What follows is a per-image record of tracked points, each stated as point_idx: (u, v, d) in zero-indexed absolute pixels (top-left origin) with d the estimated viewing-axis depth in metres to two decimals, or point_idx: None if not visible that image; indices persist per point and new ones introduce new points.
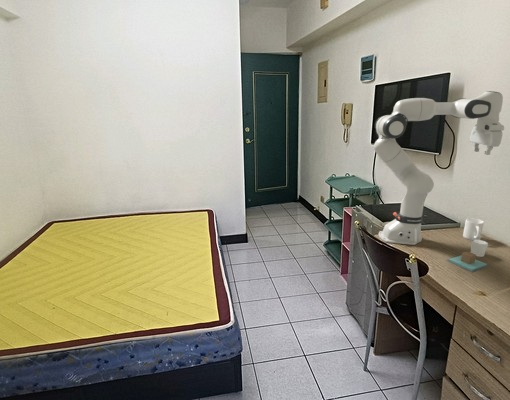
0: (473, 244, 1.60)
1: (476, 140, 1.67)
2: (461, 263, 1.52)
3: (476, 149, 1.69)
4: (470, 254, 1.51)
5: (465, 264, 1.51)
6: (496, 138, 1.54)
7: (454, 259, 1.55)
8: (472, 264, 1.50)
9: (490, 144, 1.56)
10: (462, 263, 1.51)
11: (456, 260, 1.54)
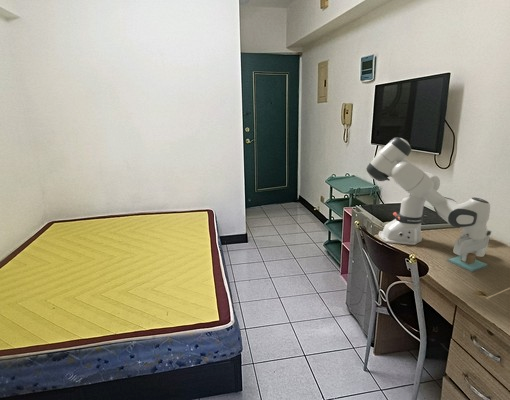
0: None
1: (470, 250, 1.48)
2: (461, 263, 1.52)
3: None
4: (470, 254, 1.51)
5: (465, 264, 1.51)
6: None
7: (454, 259, 1.55)
8: (472, 264, 1.50)
9: (485, 246, 1.53)
10: (462, 263, 1.51)
11: (456, 260, 1.54)
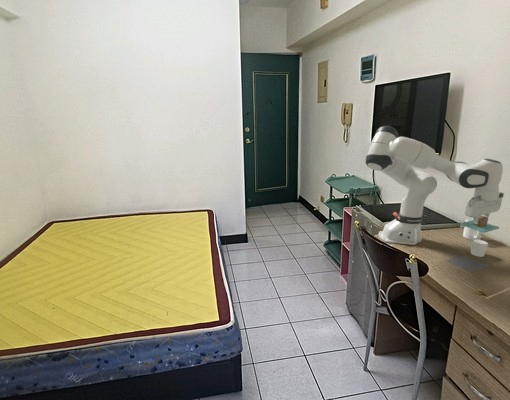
0: (473, 244, 1.60)
1: (481, 212, 1.47)
2: (473, 226, 1.51)
3: None
4: (482, 217, 1.50)
5: (477, 227, 1.50)
6: None
7: (465, 223, 1.54)
8: (484, 227, 1.49)
9: (498, 209, 1.52)
10: (474, 226, 1.50)
11: (468, 224, 1.53)
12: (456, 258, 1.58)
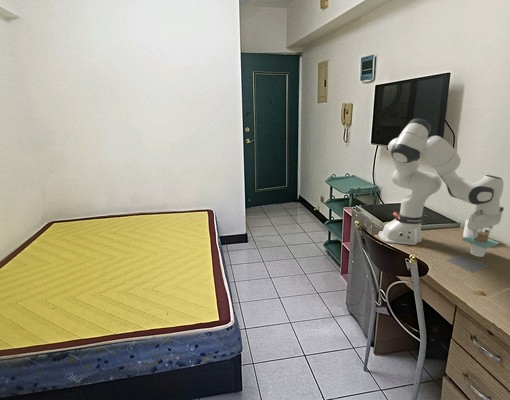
0: (473, 244, 1.60)
1: (483, 226, 1.54)
2: (474, 242, 1.58)
3: None
4: (483, 233, 1.58)
5: (478, 242, 1.57)
6: None
7: (467, 239, 1.62)
8: (485, 242, 1.57)
9: (498, 222, 1.59)
10: (476, 242, 1.58)
11: (469, 239, 1.61)
12: (456, 258, 1.58)
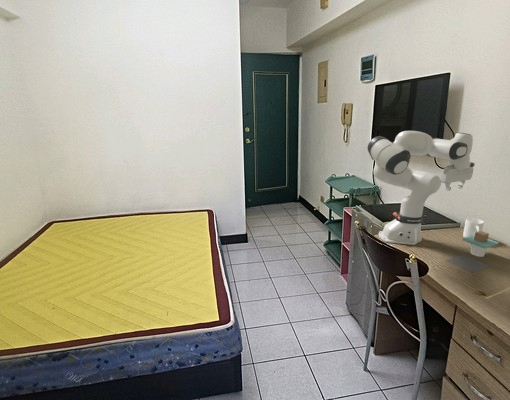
0: (473, 244, 1.60)
1: (455, 179, 1.70)
2: (474, 242, 1.58)
3: None
4: (483, 233, 1.58)
5: (478, 242, 1.57)
6: None
7: (467, 239, 1.62)
8: (485, 242, 1.57)
9: (470, 178, 1.75)
10: (476, 242, 1.58)
11: (469, 239, 1.61)
12: (456, 258, 1.58)
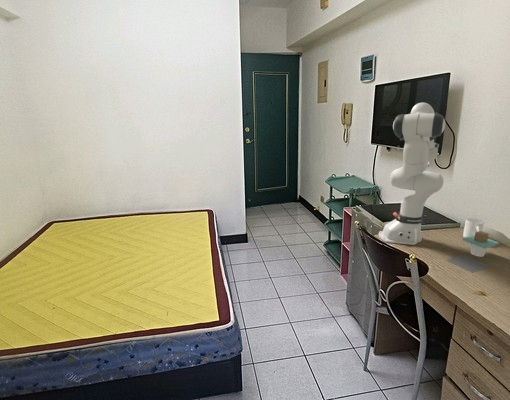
0: (473, 244, 1.60)
1: None
2: (474, 242, 1.58)
3: None
4: (483, 233, 1.58)
5: (478, 242, 1.57)
6: None
7: (467, 239, 1.62)
8: (485, 242, 1.57)
9: (435, 157, 2.00)
10: (476, 242, 1.58)
11: (469, 239, 1.61)
12: (456, 258, 1.58)
